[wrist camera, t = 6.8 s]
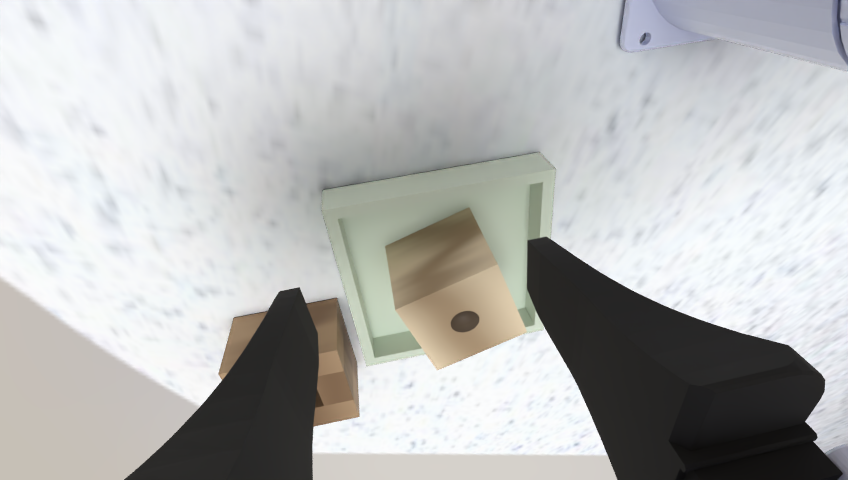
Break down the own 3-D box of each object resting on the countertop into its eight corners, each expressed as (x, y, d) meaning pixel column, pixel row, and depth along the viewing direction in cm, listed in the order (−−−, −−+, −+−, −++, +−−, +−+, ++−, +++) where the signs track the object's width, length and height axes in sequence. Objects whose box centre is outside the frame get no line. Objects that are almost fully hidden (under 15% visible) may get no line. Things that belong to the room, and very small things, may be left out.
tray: (539, 152, 22) (555, 168, 21) (531, 308, 29) (543, 330, 27) (322, 189, 21) (321, 210, 20) (364, 341, 28) (366, 366, 26)
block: (469, 207, 23) (498, 264, 19) (497, 270, 26) (527, 332, 22) (384, 246, 23) (395, 310, 19) (421, 304, 26) (437, 370, 22)
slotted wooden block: (336, 298, 25) (336, 350, 22) (356, 363, 29) (359, 416, 26) (233, 317, 25) (218, 374, 22) (266, 381, 28) (257, 438, 25)
